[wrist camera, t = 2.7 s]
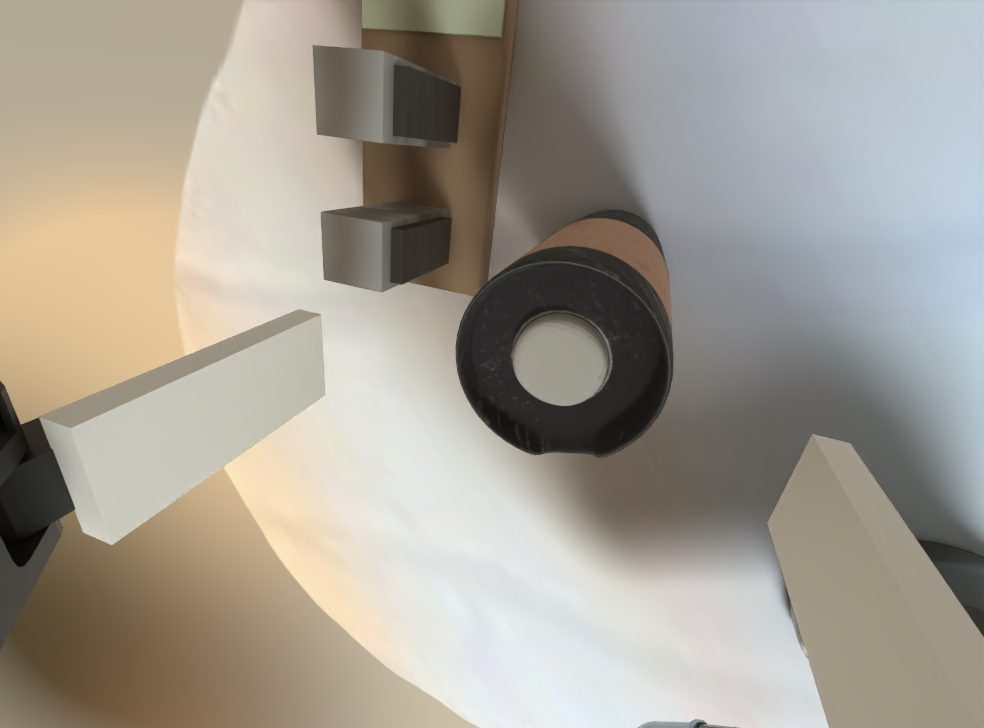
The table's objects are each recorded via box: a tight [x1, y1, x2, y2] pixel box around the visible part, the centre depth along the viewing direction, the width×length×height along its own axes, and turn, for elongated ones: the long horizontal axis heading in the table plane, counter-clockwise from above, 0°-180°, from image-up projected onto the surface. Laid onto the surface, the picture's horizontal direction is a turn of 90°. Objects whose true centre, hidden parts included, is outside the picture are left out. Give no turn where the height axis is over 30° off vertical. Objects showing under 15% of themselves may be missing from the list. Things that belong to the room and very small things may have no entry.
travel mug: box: [456, 210, 673, 458], centre depth 24 cm, size 8×8×20 cm
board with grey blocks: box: [313, 0, 519, 296], centre depth 27 cm, size 10×26×11 cm, turn 174°
